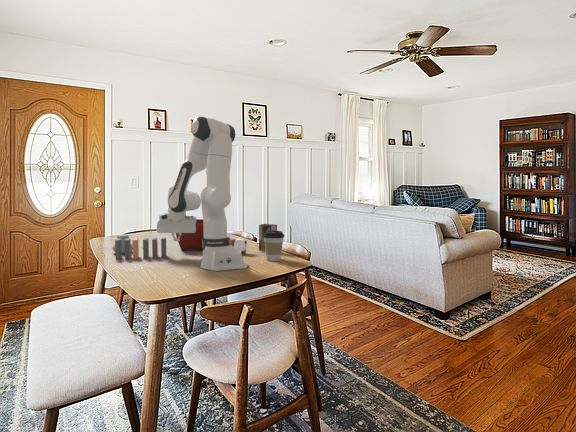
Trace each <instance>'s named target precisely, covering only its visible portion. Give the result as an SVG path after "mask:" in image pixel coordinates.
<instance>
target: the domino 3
mask: <svg viewBox="0 0 576 432" xmlns="http://www.w3.org/2000/svg"><path fill="white" fill-rule="evenodd" d="M132 244H133V250H132V259H133V260H135V259H136V260H138V258H139V257H140V256H139V255H140V251H139V238H138V237H137V238H135V237H134V238H133V239H132Z"/></svg>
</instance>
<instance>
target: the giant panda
mask: <svg viewBox="0 0 576 432" xmlns="http://www.w3.org/2000/svg"><path fill="white" fill-rule="evenodd" d="M227 237H228V238H230V239H232V238H231V237H230V236H227ZM232 241H233V242H232V243H231V245H232V246H233V247H235V248H236V249H237V250H239V251H240V252H241V254H242V256H244V255H246V254H247V253H246V252H247V248H248V247H247V244H248V241H247V240H246V239H244V238H233V239H232Z"/></svg>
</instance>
